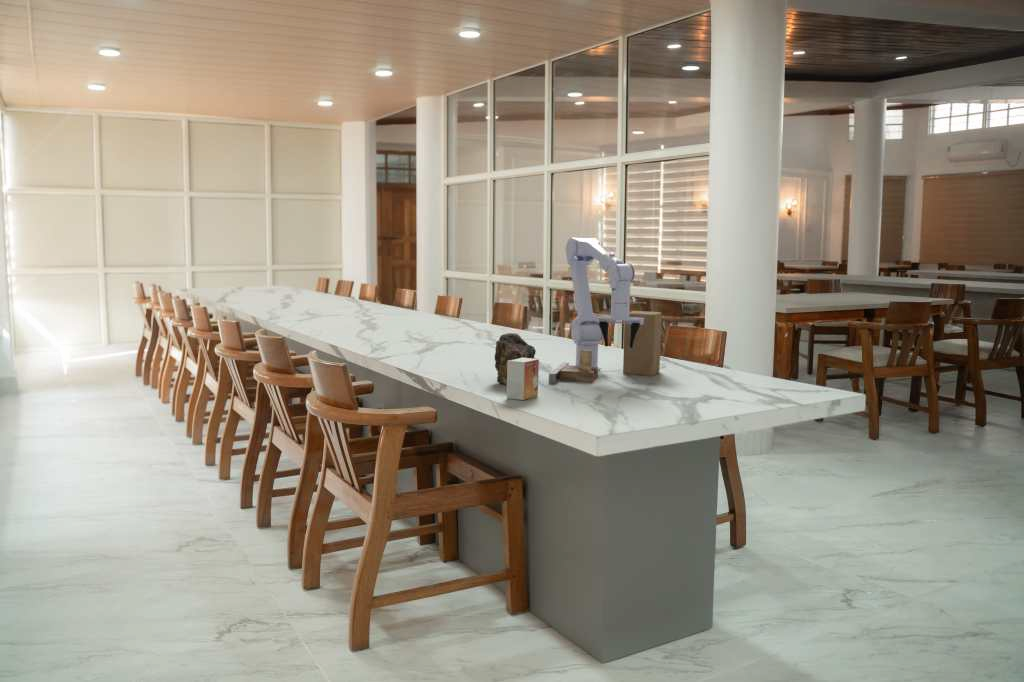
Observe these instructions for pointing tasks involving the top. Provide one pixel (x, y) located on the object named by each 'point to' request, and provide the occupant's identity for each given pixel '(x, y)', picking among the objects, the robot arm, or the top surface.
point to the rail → (556, 373)
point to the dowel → (585, 359)
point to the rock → (510, 353)
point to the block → (578, 374)
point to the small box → (522, 378)
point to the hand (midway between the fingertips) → (618, 346)
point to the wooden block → (643, 345)
